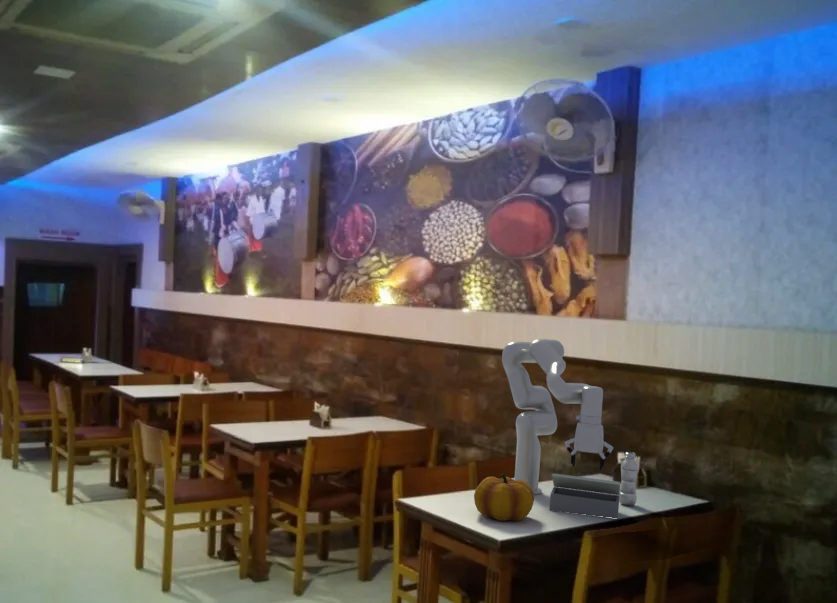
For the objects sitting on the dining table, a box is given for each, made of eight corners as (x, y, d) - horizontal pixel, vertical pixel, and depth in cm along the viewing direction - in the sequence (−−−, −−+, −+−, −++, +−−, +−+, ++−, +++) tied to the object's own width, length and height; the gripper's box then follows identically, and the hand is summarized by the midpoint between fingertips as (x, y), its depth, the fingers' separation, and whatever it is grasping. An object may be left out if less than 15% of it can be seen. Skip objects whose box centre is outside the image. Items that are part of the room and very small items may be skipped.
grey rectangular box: (549, 510, 281) (550, 493, 281) (552, 502, 292) (553, 486, 292) (617, 519, 274) (618, 502, 274) (618, 511, 286) (619, 495, 286)
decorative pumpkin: (511, 529, 252) (514, 483, 252) (459, 513, 267) (462, 470, 267) (546, 520, 267) (549, 476, 267) (495, 505, 282) (498, 464, 282)
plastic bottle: (636, 508, 294) (640, 455, 294) (618, 505, 295) (622, 453, 295) (635, 504, 300) (639, 452, 300) (617, 501, 301) (621, 450, 301)
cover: (552, 476, 282) (552, 473, 283) (553, 486, 292) (554, 484, 293) (620, 484, 276) (620, 482, 276) (619, 495, 286) (619, 492, 286)
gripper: (565, 419, 280) (562, 466, 280) (614, 424, 275) (611, 472, 275) (567, 416, 287) (563, 462, 287) (615, 421, 283) (611, 468, 283)
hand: (587, 467), depth 281 cm, fingers open, 9 cm apart
